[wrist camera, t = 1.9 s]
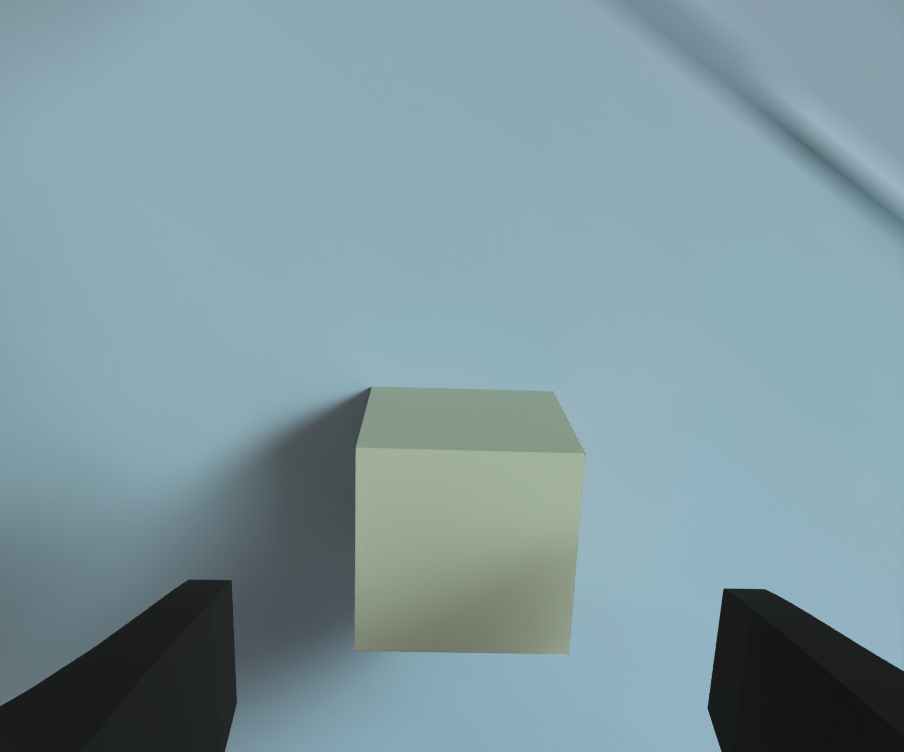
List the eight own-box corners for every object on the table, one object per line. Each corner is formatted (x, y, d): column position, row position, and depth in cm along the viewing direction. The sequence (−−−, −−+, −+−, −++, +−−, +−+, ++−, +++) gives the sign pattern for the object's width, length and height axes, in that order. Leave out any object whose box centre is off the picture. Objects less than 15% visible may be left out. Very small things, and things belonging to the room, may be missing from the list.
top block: (540, 553, 19) (568, 654, 15) (370, 550, 19) (354, 650, 15) (552, 390, 18) (585, 453, 14) (372, 385, 18) (355, 447, 14)
